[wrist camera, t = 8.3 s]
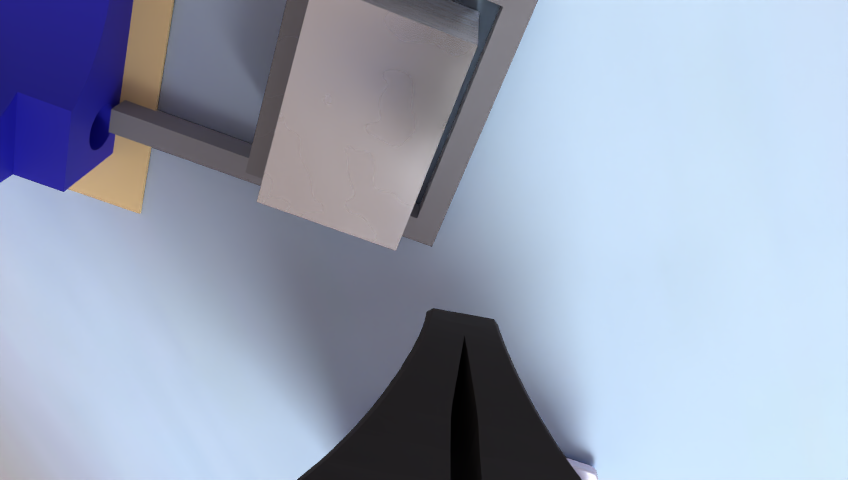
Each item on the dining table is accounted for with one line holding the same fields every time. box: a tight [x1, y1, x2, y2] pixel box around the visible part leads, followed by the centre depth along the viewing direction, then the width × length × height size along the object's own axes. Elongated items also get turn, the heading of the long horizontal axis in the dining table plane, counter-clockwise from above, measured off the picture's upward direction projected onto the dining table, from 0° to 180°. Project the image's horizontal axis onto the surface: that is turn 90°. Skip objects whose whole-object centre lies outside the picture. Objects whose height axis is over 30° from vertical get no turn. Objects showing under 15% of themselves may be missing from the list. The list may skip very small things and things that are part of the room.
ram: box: [245, 0, 479, 251], centre depth 18 cm, size 5×6×4 cm
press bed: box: [68, 0, 538, 246], centre depth 19 cm, size 17×15×1 cm
